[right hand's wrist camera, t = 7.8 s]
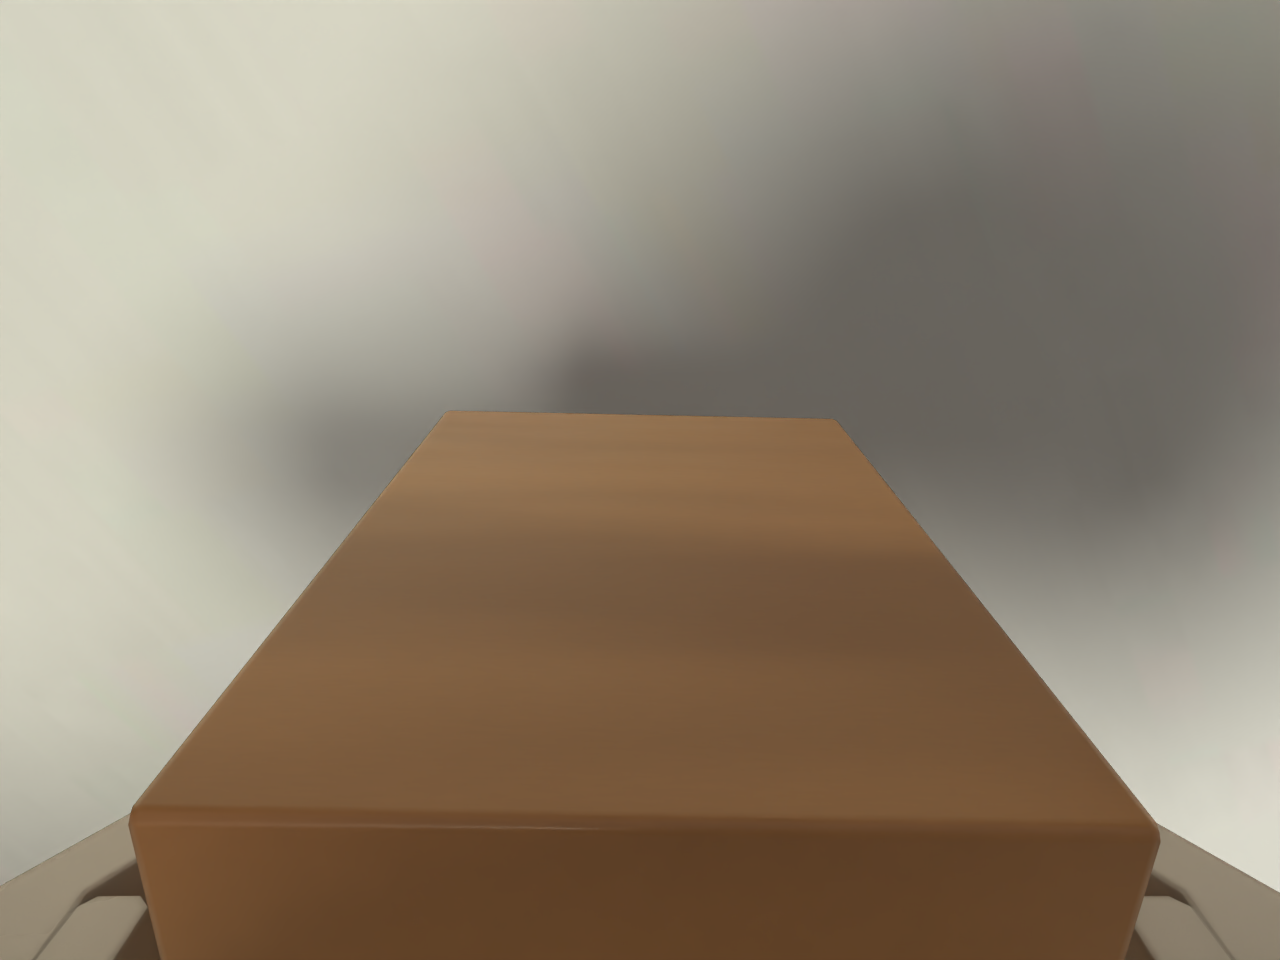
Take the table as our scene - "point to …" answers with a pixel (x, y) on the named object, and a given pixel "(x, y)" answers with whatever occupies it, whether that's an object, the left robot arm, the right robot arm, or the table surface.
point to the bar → (639, 726)
